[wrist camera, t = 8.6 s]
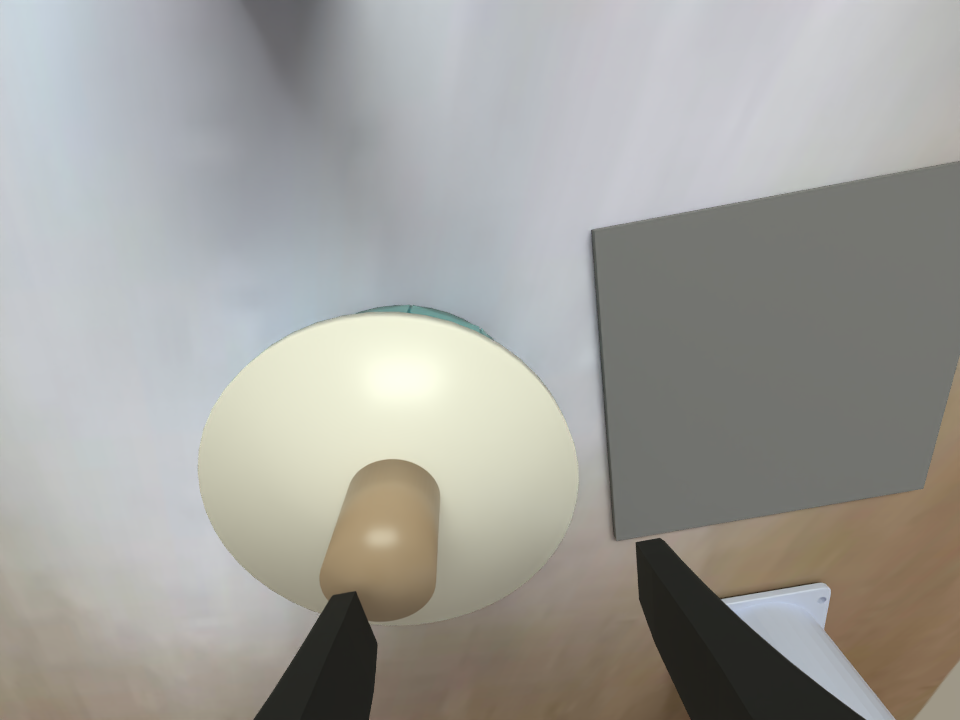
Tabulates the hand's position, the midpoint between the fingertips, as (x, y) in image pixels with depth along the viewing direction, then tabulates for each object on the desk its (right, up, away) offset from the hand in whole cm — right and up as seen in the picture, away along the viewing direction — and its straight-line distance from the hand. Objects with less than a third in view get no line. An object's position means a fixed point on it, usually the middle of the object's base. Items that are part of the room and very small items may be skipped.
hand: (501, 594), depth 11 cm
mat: (+13, +5, +9) cm, 17 cm away
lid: (-4, +1, +5) cm, 6 cm away
